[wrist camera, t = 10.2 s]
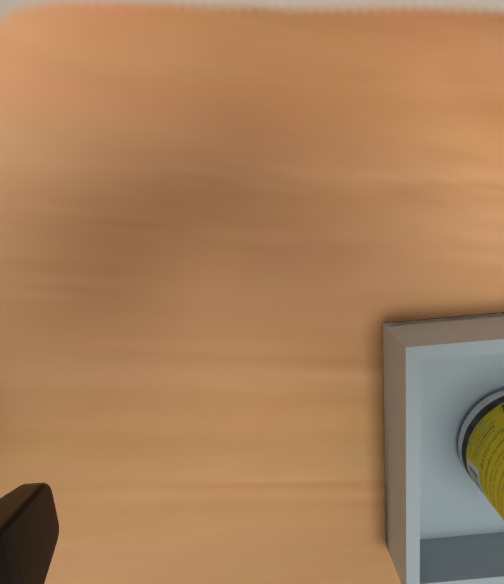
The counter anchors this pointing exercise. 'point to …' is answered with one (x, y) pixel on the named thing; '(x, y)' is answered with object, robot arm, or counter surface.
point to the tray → (439, 449)
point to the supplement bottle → (485, 448)
